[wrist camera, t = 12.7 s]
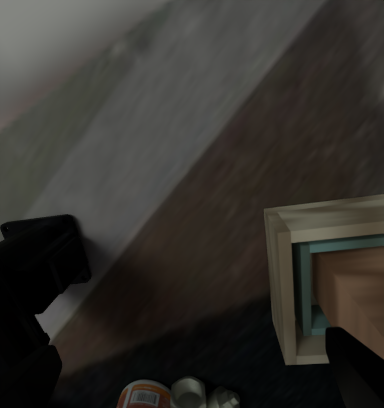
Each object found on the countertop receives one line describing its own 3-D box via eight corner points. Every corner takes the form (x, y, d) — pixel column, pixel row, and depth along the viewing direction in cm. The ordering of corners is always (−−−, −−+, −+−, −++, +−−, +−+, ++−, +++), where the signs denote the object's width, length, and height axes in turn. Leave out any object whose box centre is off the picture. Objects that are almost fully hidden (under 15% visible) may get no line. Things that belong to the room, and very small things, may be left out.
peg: (313, 294, 21) (380, 412, 13) (311, 246, 20) (387, 342, 11) (371, 289, 21) (483, 409, 12) (374, 239, 19) (502, 335, 11)
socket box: (272, 320, 23) (286, 365, 19) (263, 208, 20) (277, 232, 16) (402, 311, 22) (447, 357, 18) (415, 190, 19) (474, 211, 15)
